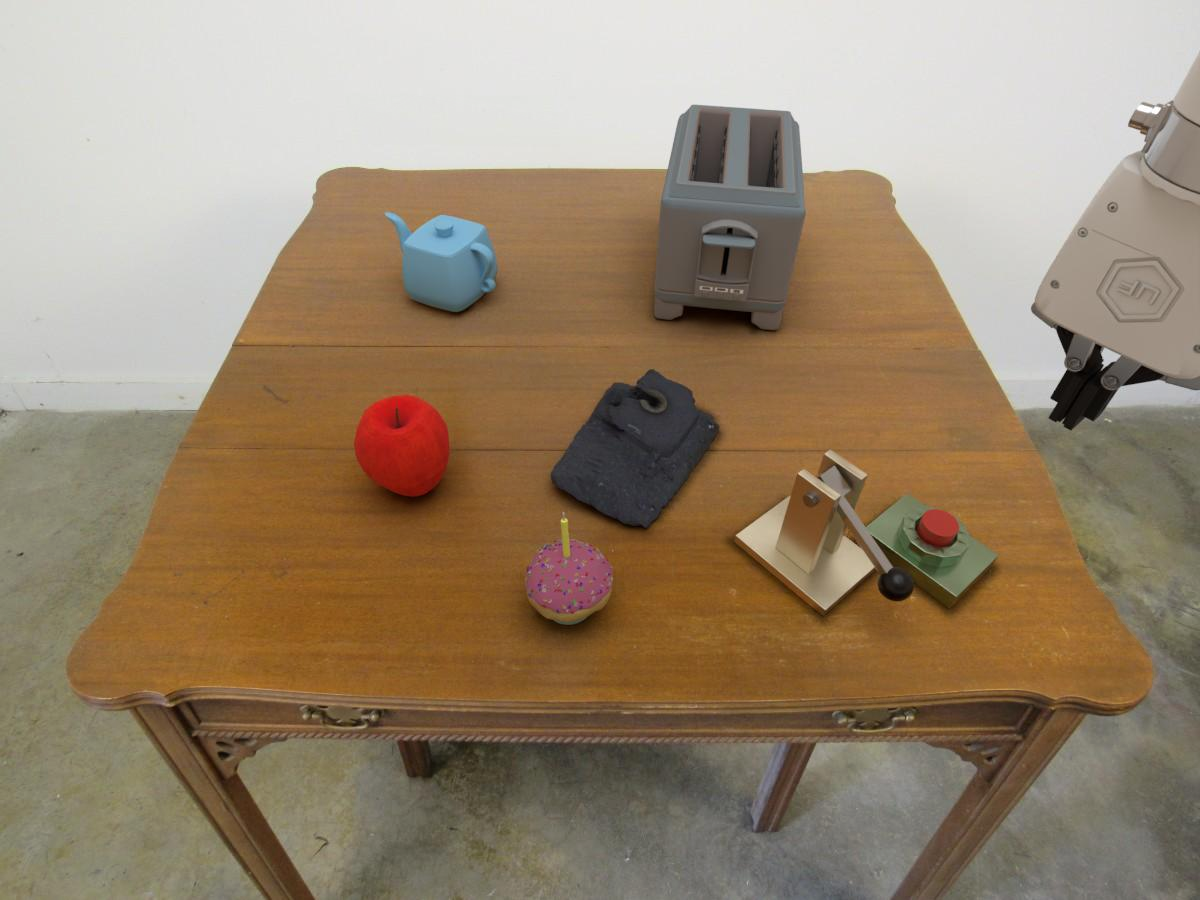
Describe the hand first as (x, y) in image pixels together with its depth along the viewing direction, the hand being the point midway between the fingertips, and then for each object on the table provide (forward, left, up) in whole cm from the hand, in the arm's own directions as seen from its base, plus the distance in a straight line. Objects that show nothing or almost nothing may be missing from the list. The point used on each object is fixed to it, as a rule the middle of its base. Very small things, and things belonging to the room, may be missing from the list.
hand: (1069, 415), depth 51 cm
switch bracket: (+14, +2, -29) cm, 32 cm away
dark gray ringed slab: (+37, +6, -29) cm, 48 cm away
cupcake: (+25, +25, -29) cm, 46 cm away
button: (+6, -8, -26) cm, 27 cm away
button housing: (+6, -8, -29) cm, 31 cm away
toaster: (+57, -30, -29) cm, 71 cm away
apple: (+49, +29, -29) cm, 64 cm away
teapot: (+81, +5, -29) cm, 86 cm away
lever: (+10, +2, -22) cm, 25 cm away
